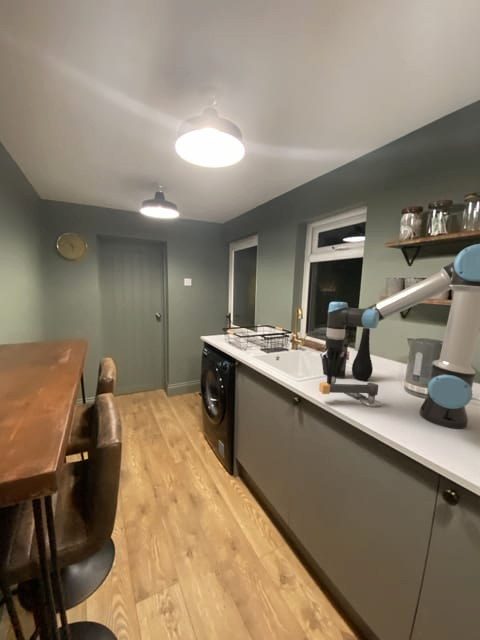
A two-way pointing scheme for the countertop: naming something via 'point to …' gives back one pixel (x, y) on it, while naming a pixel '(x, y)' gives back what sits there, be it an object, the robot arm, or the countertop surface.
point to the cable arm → (348, 388)
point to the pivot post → (370, 401)
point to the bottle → (363, 359)
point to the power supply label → (356, 395)
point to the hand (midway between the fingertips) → (330, 390)
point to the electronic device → (342, 374)
